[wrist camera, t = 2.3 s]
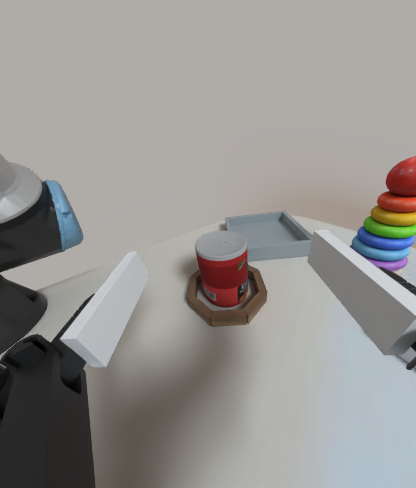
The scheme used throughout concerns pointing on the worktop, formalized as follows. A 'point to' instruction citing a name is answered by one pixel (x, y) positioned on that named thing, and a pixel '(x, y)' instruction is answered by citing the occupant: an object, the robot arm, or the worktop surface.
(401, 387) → the worktop surface
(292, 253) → the tray
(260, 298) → the holder ring
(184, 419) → the worktop surface
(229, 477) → the worktop surface
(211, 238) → the canned food
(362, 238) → the stacking toy
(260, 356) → the worktop surface
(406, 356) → the white platform stand
